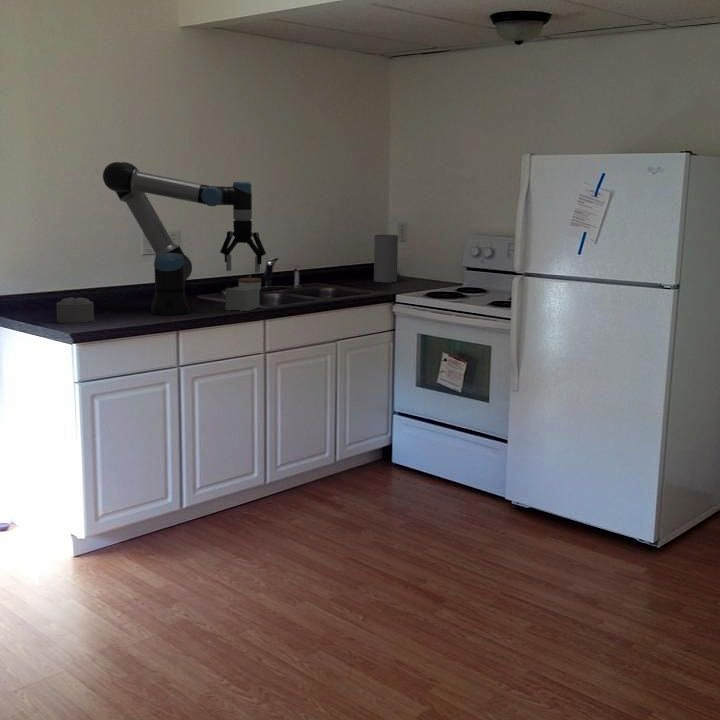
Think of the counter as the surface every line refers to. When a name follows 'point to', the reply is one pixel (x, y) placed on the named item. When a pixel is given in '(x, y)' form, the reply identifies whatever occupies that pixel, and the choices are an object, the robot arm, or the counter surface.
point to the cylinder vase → (385, 258)
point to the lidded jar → (250, 282)
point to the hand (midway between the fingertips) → (243, 271)
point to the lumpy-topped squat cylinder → (75, 310)
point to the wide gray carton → (242, 298)
